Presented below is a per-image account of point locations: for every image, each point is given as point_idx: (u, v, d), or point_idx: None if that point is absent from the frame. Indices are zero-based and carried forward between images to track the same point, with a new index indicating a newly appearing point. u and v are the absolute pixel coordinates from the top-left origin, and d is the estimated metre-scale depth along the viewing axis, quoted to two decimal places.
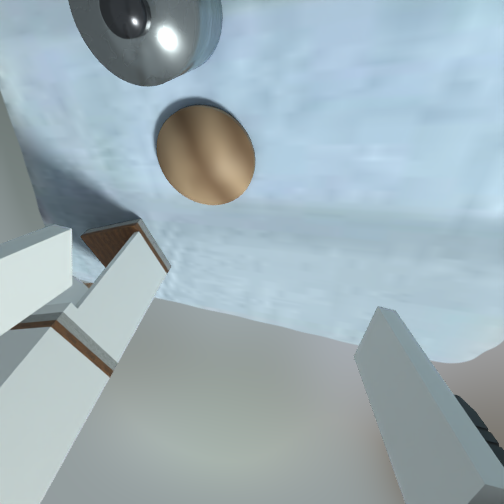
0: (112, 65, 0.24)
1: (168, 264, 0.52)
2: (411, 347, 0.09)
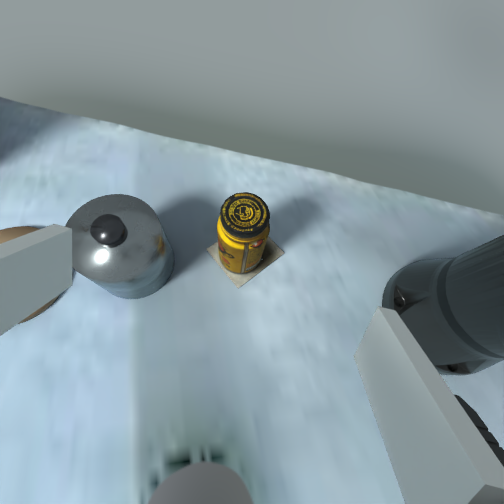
0: (83, 211, 0.31)
1: None
2: (411, 347, 0.09)
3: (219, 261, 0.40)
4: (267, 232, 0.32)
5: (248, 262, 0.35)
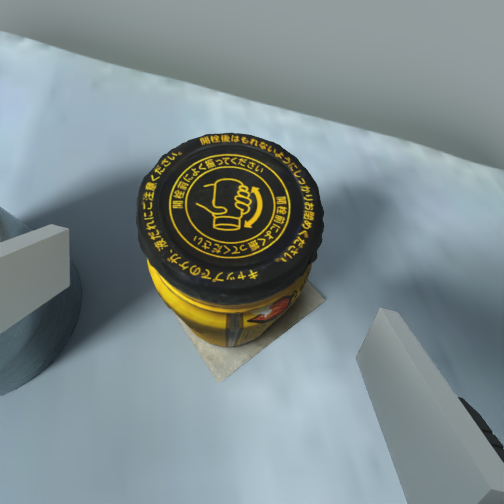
0: None
1: None
2: (414, 349, 0.09)
3: None
4: (306, 272, 0.10)
5: (243, 339, 0.13)
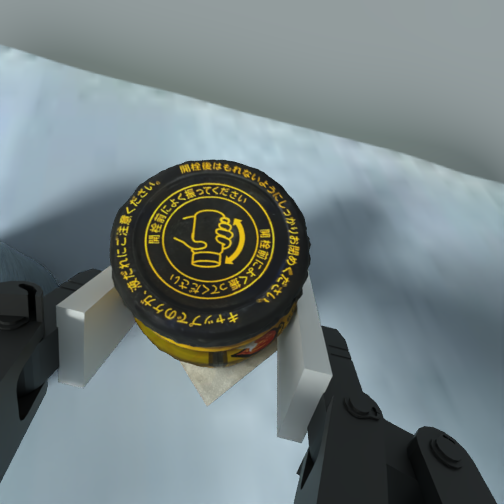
0: None
1: None
2: (304, 292, 0.11)
3: None
4: (293, 302, 0.09)
5: None
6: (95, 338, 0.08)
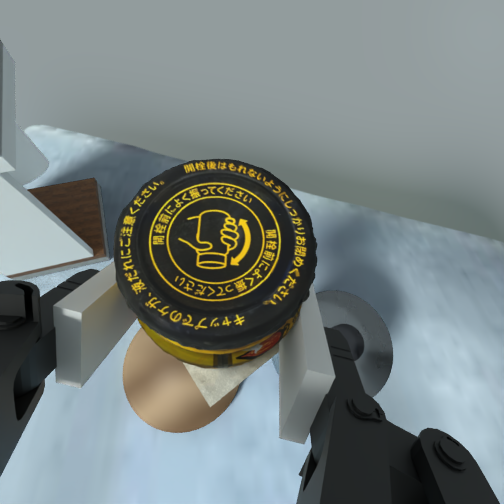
0: None
1: (22, 278, 0.34)
2: None
3: None
4: None
5: None
6: (93, 338, 0.08)
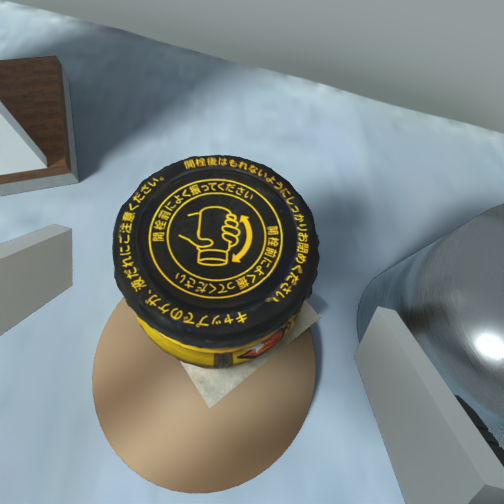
0: (475, 242, 0.12)
1: None
2: (411, 347, 0.09)
3: None
4: None
5: (234, 365, 0.13)
6: None
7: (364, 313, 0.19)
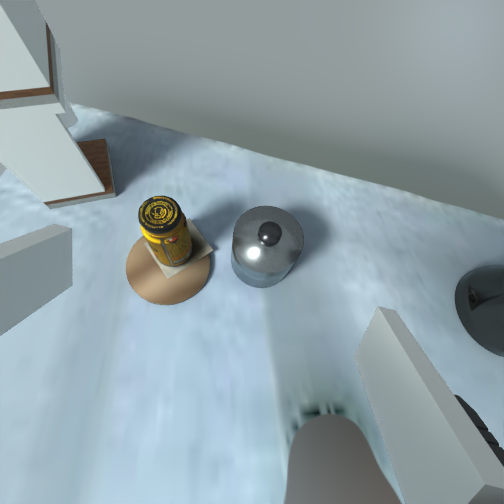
0: (244, 217, 0.41)
1: (54, 206, 0.48)
2: (411, 347, 0.09)
3: (154, 254, 0.45)
4: (182, 230, 0.38)
5: (172, 256, 0.41)
6: None
7: None
